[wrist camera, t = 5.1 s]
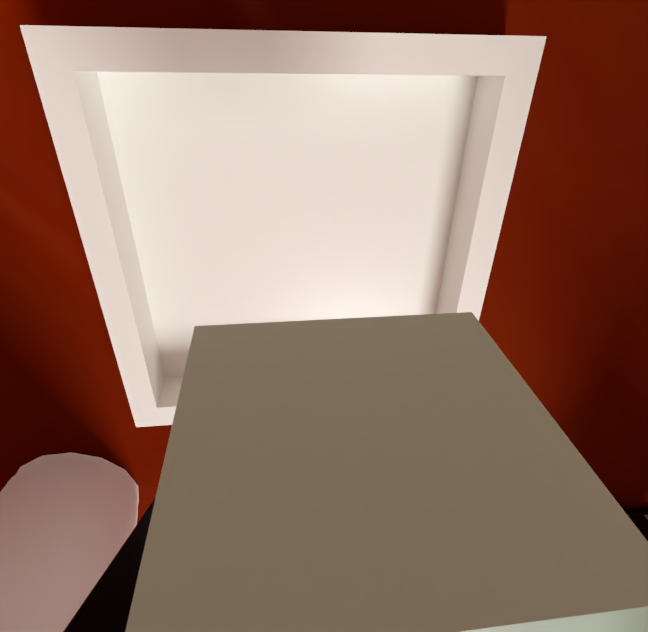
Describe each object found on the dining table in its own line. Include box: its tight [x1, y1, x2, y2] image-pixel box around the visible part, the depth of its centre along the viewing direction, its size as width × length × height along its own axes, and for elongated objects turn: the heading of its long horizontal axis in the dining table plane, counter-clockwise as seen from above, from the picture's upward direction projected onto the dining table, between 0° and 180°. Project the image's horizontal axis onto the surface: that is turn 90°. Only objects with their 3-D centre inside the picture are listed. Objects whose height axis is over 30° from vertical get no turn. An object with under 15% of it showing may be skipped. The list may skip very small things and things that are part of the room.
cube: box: [125, 312, 648, 632], centre depth 7 cm, size 5×5×5 cm
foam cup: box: [0, 452, 139, 632], centre depth 18 cm, size 10×9×13 cm
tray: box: [20, 25, 547, 427], centre depth 17 cm, size 14×14×2 cm
